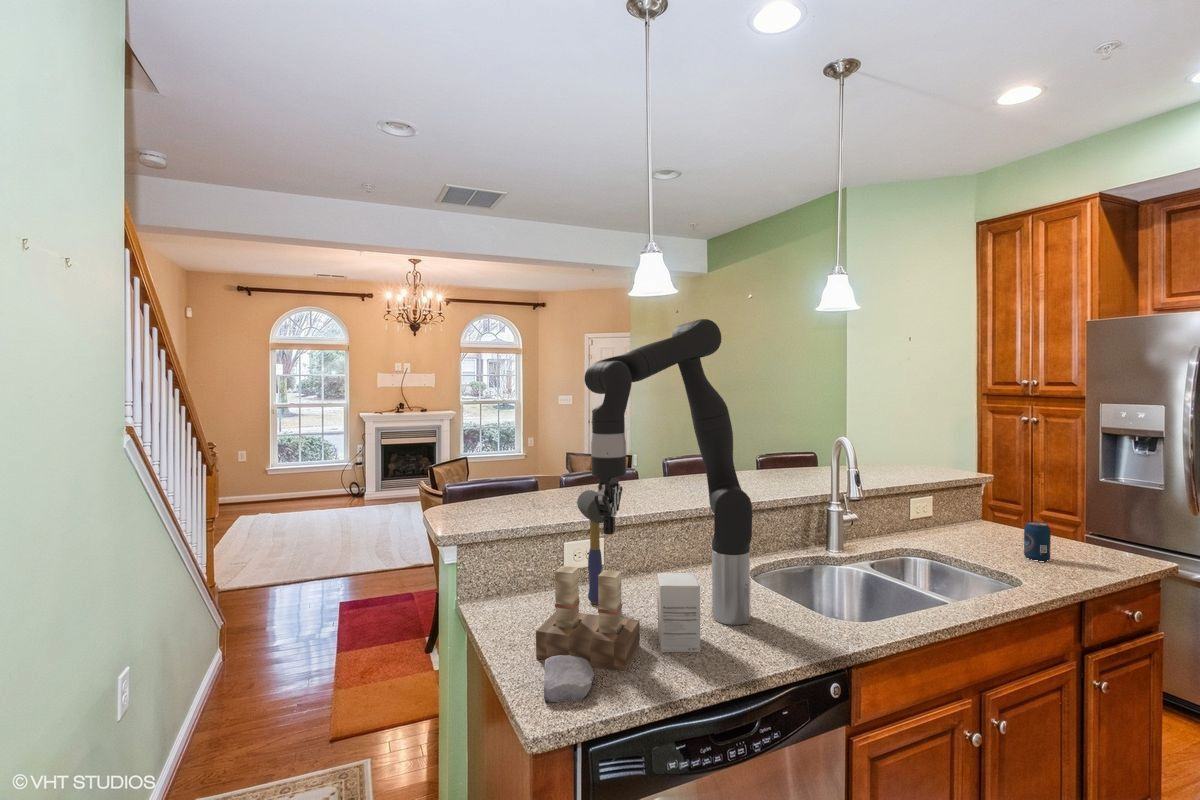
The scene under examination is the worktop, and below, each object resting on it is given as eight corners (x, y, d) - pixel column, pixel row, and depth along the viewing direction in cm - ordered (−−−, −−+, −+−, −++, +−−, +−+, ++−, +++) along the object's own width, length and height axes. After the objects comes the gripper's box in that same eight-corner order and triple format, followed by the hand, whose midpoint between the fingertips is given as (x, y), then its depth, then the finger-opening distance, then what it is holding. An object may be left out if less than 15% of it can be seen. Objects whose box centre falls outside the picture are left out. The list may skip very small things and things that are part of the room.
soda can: (1019, 556, 194) (1019, 520, 194) (1042, 556, 193) (1042, 521, 193) (1031, 562, 187) (1032, 525, 187) (1055, 563, 186) (1055, 526, 186)
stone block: (588, 678, 120) (541, 671, 119) (593, 656, 120) (545, 649, 119) (592, 713, 108) (540, 706, 107) (597, 688, 108) (545, 681, 107)
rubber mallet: (615, 609, 152) (614, 495, 151) (588, 612, 150) (586, 497, 149) (602, 593, 164) (600, 487, 163) (576, 596, 162) (575, 489, 161)
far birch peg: (579, 624, 130) (579, 567, 130) (573, 632, 127) (572, 573, 126) (562, 622, 132) (561, 565, 131) (555, 629, 128) (554, 571, 127)
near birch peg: (622, 630, 127) (621, 571, 127) (616, 638, 123) (616, 577, 123) (604, 627, 129) (603, 569, 128) (598, 635, 125) (597, 575, 124)
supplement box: (657, 635, 136) (656, 572, 136) (695, 635, 136) (695, 571, 136) (659, 652, 127) (659, 585, 127) (700, 653, 127) (700, 585, 126)
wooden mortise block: (639, 646, 130) (639, 620, 130) (625, 671, 119) (625, 643, 119) (557, 635, 137) (557, 610, 136) (536, 658, 125) (535, 630, 125)
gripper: (616, 458, 117) (617, 543, 118) (633, 450, 130) (634, 527, 131) (581, 457, 120) (582, 540, 120) (601, 450, 132) (602, 525, 133)
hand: (609, 533), depth 125 cm, fingers closed
